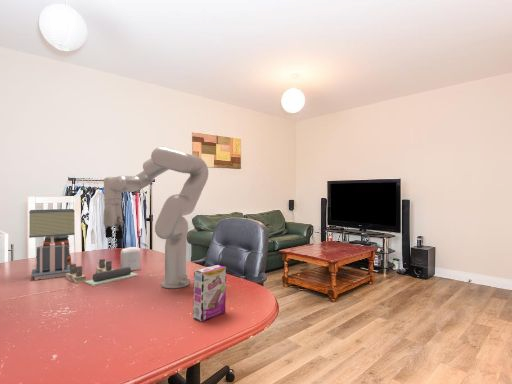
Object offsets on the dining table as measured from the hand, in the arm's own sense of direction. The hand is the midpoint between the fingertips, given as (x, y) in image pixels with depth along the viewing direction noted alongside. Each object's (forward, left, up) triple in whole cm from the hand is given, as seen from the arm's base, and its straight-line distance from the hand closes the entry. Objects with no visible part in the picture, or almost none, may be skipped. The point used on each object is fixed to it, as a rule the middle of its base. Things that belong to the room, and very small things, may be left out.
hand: (114, 238), depth 150 cm
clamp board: (+12, +5, -20) cm, 24 cm away
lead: (0, 0, -19) cm, 19 cm away
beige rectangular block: (+22, -6, -20) cm, 31 cm away
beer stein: (+55, +6, -20) cm, 59 cm away
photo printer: (+9, -14, -20) cm, 26 cm away
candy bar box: (-68, 0, -20) cm, 71 cm away
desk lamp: (+30, +16, -20) cm, 40 cm away
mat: (+1, 0, -20) cm, 20 cm away
